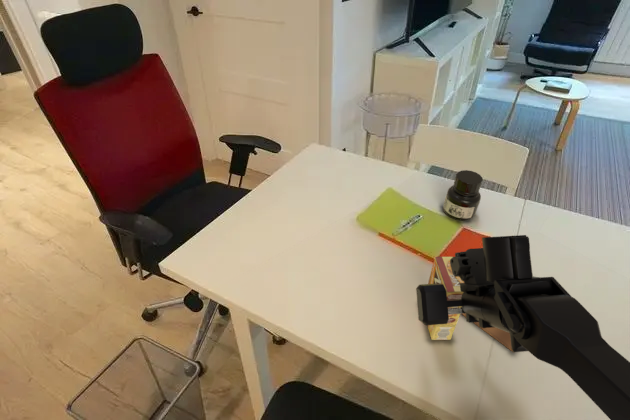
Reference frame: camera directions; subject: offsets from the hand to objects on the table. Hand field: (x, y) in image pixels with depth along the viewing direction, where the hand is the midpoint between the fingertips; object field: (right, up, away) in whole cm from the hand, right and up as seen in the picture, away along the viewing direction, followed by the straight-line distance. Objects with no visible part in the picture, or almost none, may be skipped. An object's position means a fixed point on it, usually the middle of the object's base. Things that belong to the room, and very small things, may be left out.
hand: (453, 294), depth 69 cm
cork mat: (+12, -6, +12) cm, 18 cm away
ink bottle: (+16, +15, +39) cm, 44 cm away
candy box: (0, -8, +10) cm, 13 cm away
